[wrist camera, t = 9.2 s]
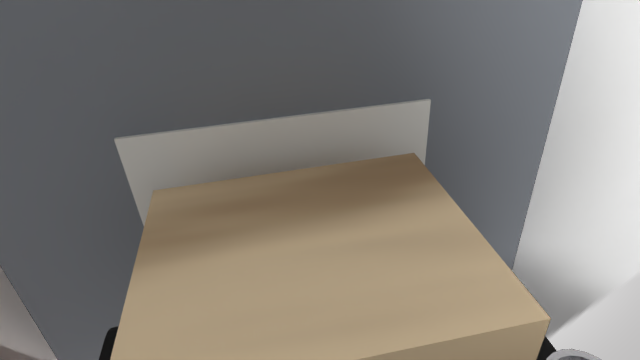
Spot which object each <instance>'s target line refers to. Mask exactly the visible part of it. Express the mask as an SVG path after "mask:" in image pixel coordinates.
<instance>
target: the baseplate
mask: <svg viewBox="0 0 640 360" xmlns="http://www.w3.org/2000/svg"><path fill="white" fill-rule="evenodd" d="M582 1H583V0H0V266H1V268H2V269H3V271H4V272H5V274H6V276H7V277H8V279H9V281H10V282H11V284H12V286H13V287H14V289H15V290H16V292H17V294H18V295H19V297H20V299H21V300H22V302H23V304H24V305H25V307H26V308H27V310H28V312H29V313H30V315H31V317H32V318H33V320H34V322H35V323H36V325H37V326H38V328H39V330H40V331H41V333H42V335H43V336H44V338H45V340H46V341H47V343H48V344H49V346H50V348H51V349H52V351H53V353H54V354H55V356H56V357H57V359H58V360H99V357H100V353H101V350H102V346H103V343H104V339H105V336H106V334H107V332H108V330H109V329H110V328H112V327H117V326H119V323H120V319H121V315H122V311H123V307H124V303H125V299H126V295H127V292H128V288H129V284H130V280H131V276H132V272H133V268H134V264H135V260H136V256H137V252H138V248H139V244H140V241H141V237H142V233H143V229H144V225H145V221H146V217H147V213H148V209H149V205H150V201H151V197H152V194H153V190H160V189H167V188H174V187H181V186H187V185H194V184H201V183H208V182H215V181H222V180H229V179H236V178H243V177H250V176H257V175H264V174H271V173H277V172H284V171H291V170H298V169H305V168H312V167H319V166H326V165H333V164H340V163H347V162H354V161H360V160H367V159H374V158H381V157H388V156H395V155H402V154H409V153H415V154H416V155H417V157H418V158H419V159H420V160H421V161H422V163H423V164H424V165H425V166H426V168H427V169H428V170H429V171H430V172H431V174H432V175H433V176H434V177H435V178H436V180H437V181H438V182H439V183H440V185H441V186H442V187H443V188H444V189H445V191H446V192H447V193H448V194H449V195H450V197H451V198H452V199H453V200H454V202H455V203H456V204H457V205H458V206H459V208H460V209H461V210H462V211H463V212H464V214H465V215H466V216H467V217H468V218H469V220H470V221H471V222H472V223H473V225H474V226H475V227H476V228H477V229H478V231H479V232H480V233H481V234H482V235H483V237H484V238H485V239H486V240H487V242H488V243H489V244H490V245H491V246H492V248H493V249H494V250H495V251H496V252H497V254H498V255H499V256H500V257H501V259H502V260H503V261H504V262H505V263H506V265H507V266H508V267H509V268H510V269H511V271H512V267H513V264H514V260H515V256H516V252H517V248H518V245H519V241H520V237H521V233H522V229H523V226H524V222H525V218H526V214H527V210H528V206H529V203H530V199H531V195H532V191H533V187H534V184H535V180H536V176H537V172H538V168H539V165H540V161H541V157H542V153H543V149H544V145H545V142H546V138H547V134H548V130H549V126H550V123H551V119H552V115H553V111H554V107H555V104H556V100H557V96H558V92H559V88H560V84H561V81H562V77H563V73H564V69H565V65H566V62H567V58H568V54H569V50H570V46H571V43H572V39H573V35H574V31H575V27H576V23H577V20H578V16H579V12H580V8H581V4H582Z"/></svg>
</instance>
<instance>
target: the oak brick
mask: <svg viewBox="0 0 640 360" xmlns="http://www.w3.org/2000/svg"><path fill="white" fill-rule="evenodd" d="M550 320H551V318H550V317H549V316H548V314H547V313H546V312H545V311H544V309H543V308H542V307H541V306H540V305H539V303H538V302H537V301H536V300H535V299H534V297H533V296H532V295H531V294H530V292H529V291H528V290H527V289H526V288H525V286H524V285H523V284H522V283H521V282H520V280H519V279H518V278H517V277H516V275H515V274H514V273H513V272H512V271H511V269H510V268H509V267H508V266H507V265H506V263H505V262H504V261H503V260H502V259H501V257H500V256H499V255H498V254H497V252H496V251H495V250H494V249H493V248H492V246H491V245H490V244H489V243H488V242H487V240H486V239H485V238H484V237H483V235H482V234H481V233H480V232H479V231H478V229H477V228H476V227H475V226H474V225H473V223H472V222H471V221H470V220H469V218H468V217H467V216H466V215H465V214H464V212H463V211H462V210H461V209H460V208H459V206H458V205H457V204H456V203H455V202H454V200H453V199H452V198H451V197H450V195H449V194H448V193H447V192H446V191H445V189H444V188H443V187H442V186H441V185H440V183H439V182H438V181H437V180H436V178H435V177H434V176H433V175H432V174H431V172H430V171H429V170H428V169H427V168H426V166H425V165H424V164H423V163H422V161H421V160H420V159H419V158H418V157H417V155H416V154H415V153H409V154H402V155H395V156H388V157H381V158H374V159H367V160H360V161H354V162H347V163H340V164H333V165H326V166H319V167H312V168H305V169H298V170H291V171H284V172H277V173H271V174H264V175H257V176H250V177H243V178H236V179H229V180H222V181H215V182H208V183H201V184H194V185H187V186H181V187H174V188H167V189H160V190H153V194H152V197H151V201H150V205H149V209H148V213H147V217H146V221H145V225H144V229H143V233H142V237H141V241H140V244H139V248H138V252H137V256H136V260H135V264H134V268H133V272H132V276H131V280H130V284H129V288H128V292H127V295H126V299H125V303H124V307H123V311H122V315H121V319H120V323H119V327H118V331H117V335H116V339H115V343H114V346H113V350H112V354H111V358H110V360H536V359H537V356H538V354H539V351H540V348H541V345H542V342H543V340H544V337H545V334H546V331H547V328H548V325H549V323H550Z"/></svg>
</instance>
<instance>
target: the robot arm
mask: <svg viewBox="0 0 640 360" xmlns="http://www.w3.org/2000/svg"><path fill="white" fill-rule="evenodd" d="M118 327H119V326H117V327H112V328H110V329H109V330H108V332H107V334H106V336H105V339H104V343H103V346H102V350H101V353H100V357H99V360H110V358H111V354H112V350H113V346H114V343H115V339H116V335H117V331H118ZM536 360H601V359H599V358H598V357H596V356H593V355H591V354H589V353H587V352H583V351H579V350H574V349H562V350H559V351H556V350H555V348H554V347H553V346H552V344H551V343H550V342H549V340H548V339H547V338H546V337H544V340H543V342H542V345H541V348H540V351H539V354H538V356H537V359H536Z"/></svg>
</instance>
